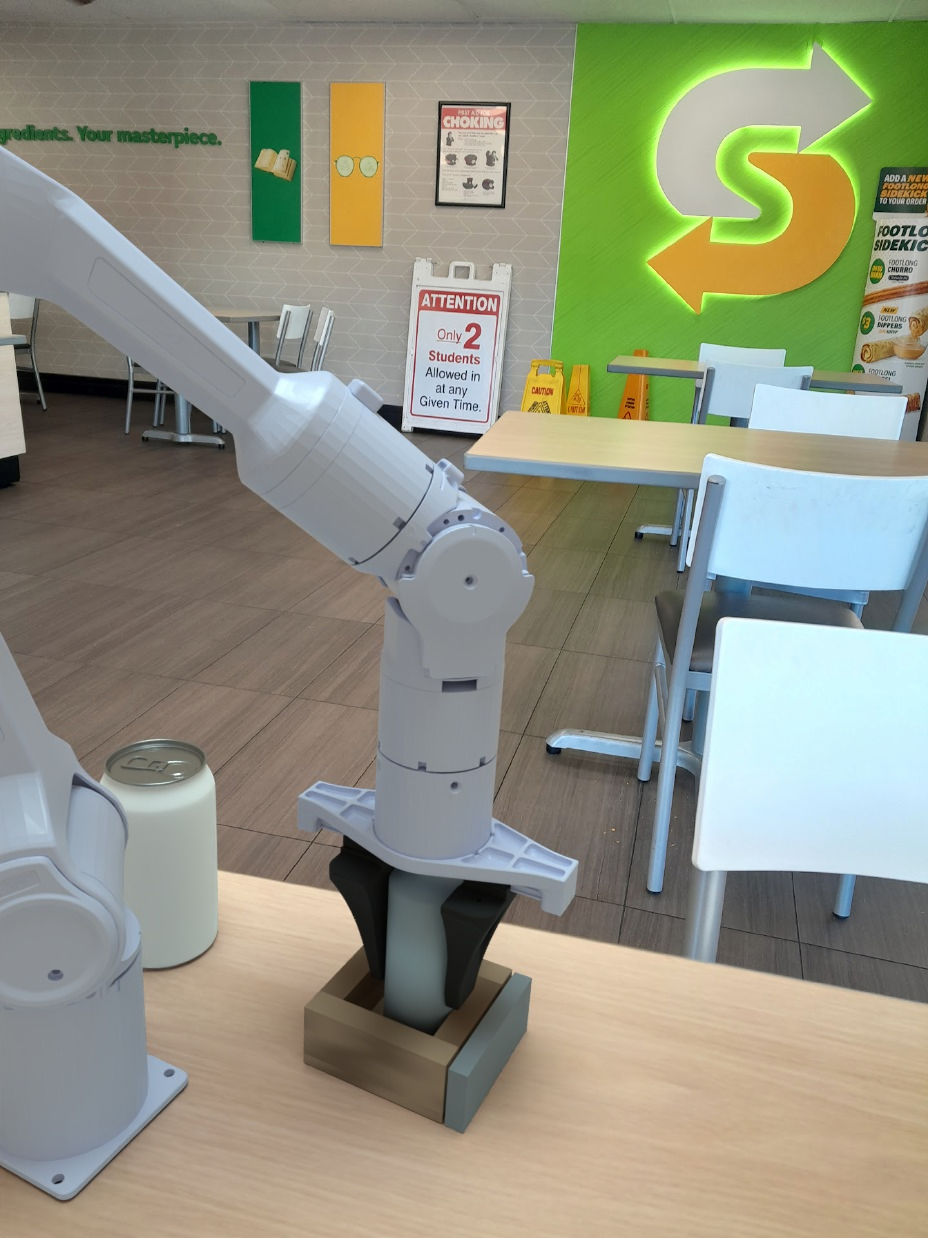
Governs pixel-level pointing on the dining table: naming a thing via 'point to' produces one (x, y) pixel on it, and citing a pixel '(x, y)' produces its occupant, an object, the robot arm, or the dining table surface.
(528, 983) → the backstop wall
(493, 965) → the frame
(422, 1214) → the dining table surface
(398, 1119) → the dining table surface
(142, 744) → the can
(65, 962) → the robot arm
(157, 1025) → the dining table surface
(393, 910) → the dowel
